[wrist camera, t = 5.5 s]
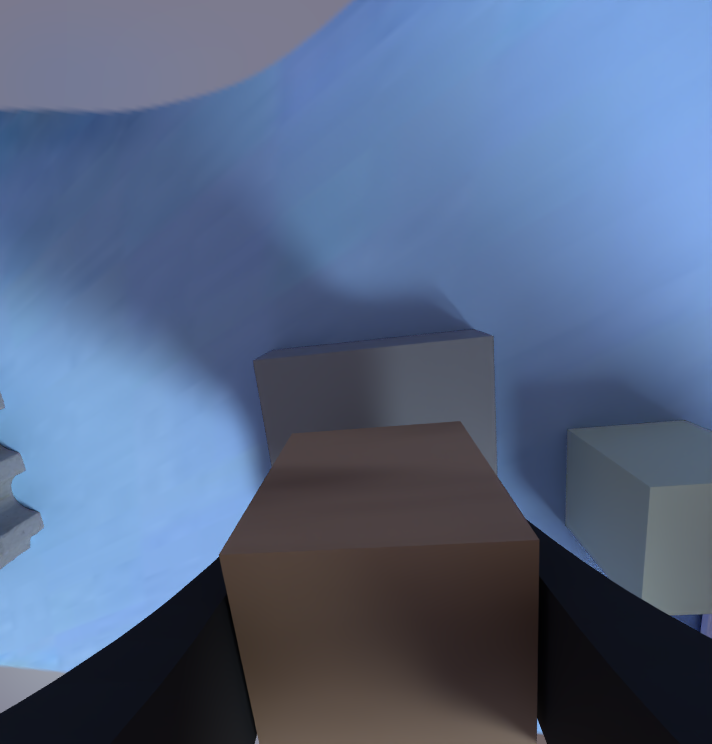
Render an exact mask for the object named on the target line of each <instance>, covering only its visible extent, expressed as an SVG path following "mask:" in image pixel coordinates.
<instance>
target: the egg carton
mask: <svg viewBox="0 0 712 744" xmlns="http://www.w3.org/2000/svg"><path fill="white" fill-rule="evenodd" d="M4 408H5V405H4V401H3V398H2V395H1V393H0V410H1V409H4ZM24 471H25V466H24V463H23V459H22V456H21V454H20V453H18V452H15V451H11V450H8V449H6V448H4V447H3V446H1V445H0V569H1V568H3V567H4V566H5V565H7V564H8V563H9V562H11V561H12V560H14V559H15V558H16V557H17V556H18V555H20V554H21V553H23V552H24V551H26V550H28V549H29V548H30V538H31V537H32V536H33V535H35V534H37V533H38V532H39V531H40V530H42V529H43V528H44V524H43V521H42V518H41V515H40V513H39V512H37V511H33V510H30V509H27V508H25V507H23V506H22V505H21V504H19V503H18V502H17V500H16V499H15V497H14V496H13V493H12V489H11V483H12V480H13V478H14V477H15V476H16V475H18V474H20V473H22V472H24Z"/></svg>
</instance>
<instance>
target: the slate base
mask: <svg viewBox="0 0 712 744" xmlns="http://www.w3.org/2000/svg"><path fill="white" fill-rule="evenodd" d="M253 364H254V370H255V375H256V381H257V387H258V392H259V398H260V404H261V409H262V415H263V420H264V426H265V432H266V437H267V443H268V449H269V454H270V460H271V466H273V464H274V463H275V461H276V459H277V458H278V456H279V454H280V453H281V451H282V449H283V448H284V446H285V444H286V443H287V441H288V439H289V438H290V436H291V434H292V433H306V432H319V431H333V430H346V429H360V428H374V427H387V426H401V425H414V424H428V423H441V422H455V421H461V423H462V424H463V426H464V427H465V429H466V430H467V432H468V433H469V435H470V436H471V438H472V439H473V441H474V442H475V444H476V445H477V447H478V448H479V450H480V451H481V453H482V454H483V456H484V457H485V459H486V460H487V462H488V463H489V465H490V466H491V468H492V469H493V471H494V472H495V474H496V475H497V447H496V411H495V375H494V339H493V336H492V335H489V334H487V333H484V332H481V331H478V330H475V329H469V330H460V331H450V332H441V333H431V334H421V335H412V336H402V337H393V338H383V339H373V340H364V341H354V342H345V343H335V344H325V345H316V346H306V347H297V348H287V349H277V350H272V351H270V352H268V353H266V354H264V355H262V356H260V357H258V358H257V359H255V360H253Z"/></svg>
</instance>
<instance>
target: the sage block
mask: <svg viewBox="0 0 712 744" xmlns="http://www.w3.org/2000/svg"><path fill="white" fill-rule="evenodd" d="M565 526H566V527H567V528H568V529H569V530H570V532H571V533H572V534H573V535H574V536H575V538H576V539H577V540H578V541H579V543H580V544H581V545H582V546H583V547H584V549H585V550H586V551H587V552H588V553H589V555H590V556H591V557H592V558H593V560H594V561H595V562H596V563H597V564H598V566H599V567H600V568H601V569H602V571H603V572H604V573H605V574H606V575H607V577H608V578H609V579H610V580H612V581H613V582H615V583H616V584H618V585H619V586H621V587H623V588H624V589H626V590H627V591H629V592H631V593H632V594H634V595H636V596H637V597H639V598H641V599H642V600H644V601H646V602H648V603H649V604H651V605H653V606H654V607H656V608H658V609H659V610H661V611H663V612H664V613H666V614H668V615H697V614H712V431H710V430H708V429H705V428H703V427H700V426H698V425H695V424H693V423H690V422H688V421H685V420H677V421H664V422H652V423H639V424H626V425H613V426H600V427H588V428H575V429H567V467H566V513H565Z"/></svg>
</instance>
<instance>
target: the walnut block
mask: <svg viewBox="0 0 712 744" xmlns="http://www.w3.org/2000/svg"><path fill="white" fill-rule="evenodd" d="M219 558H220V563H221V568H222V572H223V577H224V582H225V586H226V591H227V595H228V600H229V605H230V609H231V614H232V619H233V623H234V628H235V633H236V637H237V642H238V647H239V651H240V656H241V661H242V665H243V670H244V675H245V679H246V684H247V689H248V693H249V698H250V703H251V707H252V712H253V717H254V721H255V726H256V731H257V735H258V739H259V744H537V679H538V607H539V538H538V537H537V535H536V534H535V532H534V531H533V529H532V528H531V526H530V525H529V523H528V522H527V520H526V519H525V517H524V516H523V514H522V513H521V511H520V510H519V508H518V507H517V505H516V504H515V502H514V501H513V499H512V498H511V496H510V495H509V493H508V492H507V490H506V489H505V487H504V486H503V484H502V483H501V481H500V480H499V478H498V477H497V475H496V474H495V472H494V471H493V469H492V468H491V466H490V465H489V463H488V462H487V460H486V459H485V457H484V456H483V454H482V453H481V451H480V450H479V448H478V447H477V445H476V444H475V442H474V441H473V439H472V438H471V436H470V435H469V433H468V432H467V430H466V429H465V427H464V426H463V424H462V423H461V421H455V422H441V423H428V424H414V425H401V426H387V427H374V428H360V429H346V430H333V431H319V432H306V433H292V434H291V436H290V438H289V439H288V441H287V443H286V444H285V446H284V448H283V449H282V451H281V453H280V454H279V456H278V458H277V459H276V461H275V463H274V464H273V466H272V468H271V469H270V471H269V473H268V474H267V476H266V478H265V479H264V481H263V483H262V484H261V486H260V487H259V489H258V491H257V492H256V494H255V496H254V497H253V499H252V501H251V502H250V504H249V506H248V507H247V509H246V511H245V512H244V514H243V516H242V517H241V519H240V521H239V522H238V524H237V526H236V527H235V529H234V531H233V532H232V534H231V536H230V537H229V539H228V541H227V542H226V544H225V546H224V547H223V549H222V551H221V552H220V554H219Z"/></svg>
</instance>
